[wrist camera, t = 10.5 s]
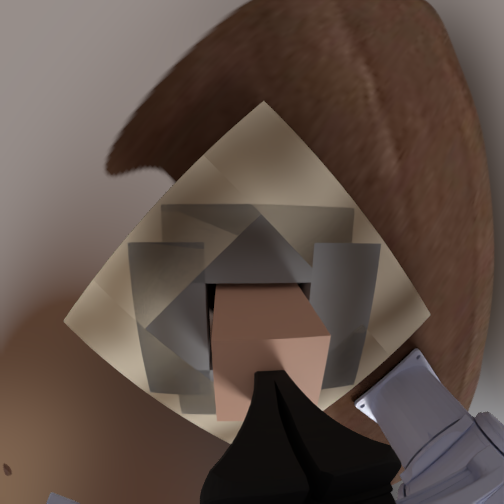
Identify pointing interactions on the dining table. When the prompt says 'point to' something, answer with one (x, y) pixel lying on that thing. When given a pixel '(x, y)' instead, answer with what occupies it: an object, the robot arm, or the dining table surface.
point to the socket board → (246, 270)
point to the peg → (264, 342)
